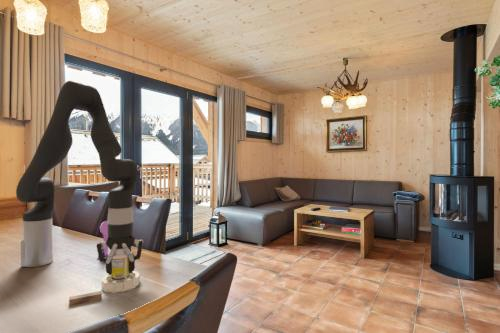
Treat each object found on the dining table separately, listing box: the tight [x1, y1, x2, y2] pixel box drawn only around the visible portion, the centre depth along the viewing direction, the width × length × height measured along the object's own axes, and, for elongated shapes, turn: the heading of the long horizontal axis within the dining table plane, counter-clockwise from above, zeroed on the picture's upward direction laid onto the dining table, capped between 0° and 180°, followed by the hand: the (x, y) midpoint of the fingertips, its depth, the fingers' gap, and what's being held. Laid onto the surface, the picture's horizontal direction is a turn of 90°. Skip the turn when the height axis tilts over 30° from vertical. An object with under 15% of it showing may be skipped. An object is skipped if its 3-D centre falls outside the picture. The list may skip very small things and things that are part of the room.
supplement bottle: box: [111, 249, 130, 282], centre depth 94 cm, size 6×6×10 cm
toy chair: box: [96, 220, 109, 260], centre depth 120 cm, size 8×9×15 cm
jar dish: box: [101, 270, 141, 294], centre depth 94 cm, size 11×11×3 cm
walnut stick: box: [68, 290, 103, 307], centre depth 83 cm, size 8×2×2 cm, turn 118°
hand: (120, 272), depth 94 cm, fingers open, 5 cm apart
